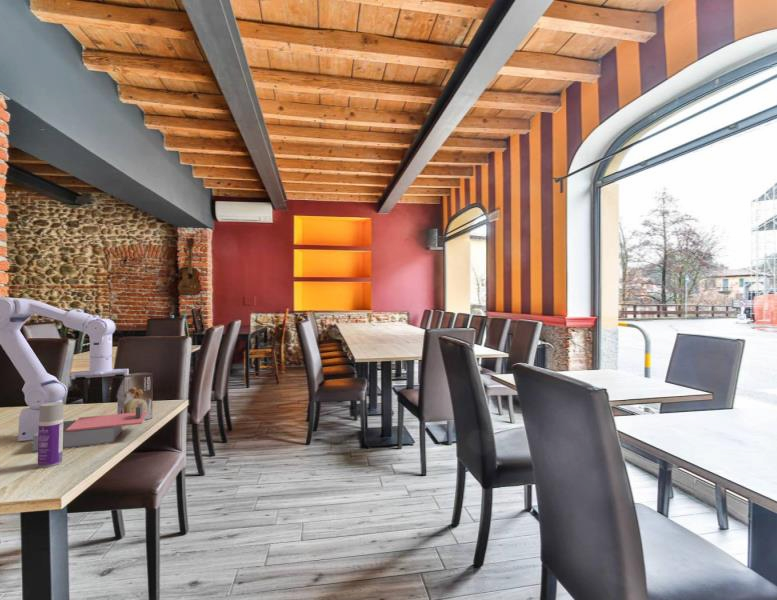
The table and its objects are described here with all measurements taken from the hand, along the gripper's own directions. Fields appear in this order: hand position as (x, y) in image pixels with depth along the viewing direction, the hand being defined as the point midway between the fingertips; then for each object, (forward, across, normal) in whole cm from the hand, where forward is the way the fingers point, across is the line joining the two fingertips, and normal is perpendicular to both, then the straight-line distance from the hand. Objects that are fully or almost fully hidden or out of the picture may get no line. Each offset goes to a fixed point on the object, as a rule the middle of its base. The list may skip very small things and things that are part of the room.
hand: (100, 399), depth 122 cm
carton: (+10, -4, -6) cm, 12 cm away
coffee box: (+11, +8, +13) cm, 19 cm away
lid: (+6, +4, -6) cm, 9 cm away
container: (+11, -6, -25) cm, 28 cm away
